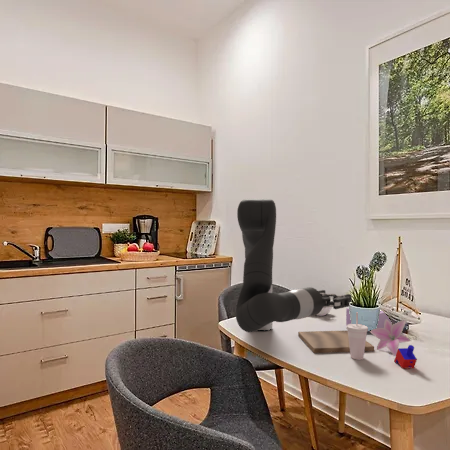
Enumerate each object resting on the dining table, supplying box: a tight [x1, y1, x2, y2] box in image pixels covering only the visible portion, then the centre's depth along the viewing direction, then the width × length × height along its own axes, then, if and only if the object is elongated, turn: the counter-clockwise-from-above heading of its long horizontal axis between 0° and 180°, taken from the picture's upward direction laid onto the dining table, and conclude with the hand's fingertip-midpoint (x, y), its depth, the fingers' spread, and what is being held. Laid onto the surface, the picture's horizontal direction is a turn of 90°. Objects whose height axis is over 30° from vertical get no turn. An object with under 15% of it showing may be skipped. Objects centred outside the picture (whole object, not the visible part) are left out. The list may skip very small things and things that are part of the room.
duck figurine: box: [316, 307, 333, 317], centre depth 170 cm, size 12×8×11 cm
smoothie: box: [345, 312, 369, 361], centre depth 119 cm, size 6×6×14 cm
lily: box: [369, 319, 411, 357], centre depth 126 cm, size 12×12×10 cm
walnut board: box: [297, 329, 375, 354], centre depth 132 cm, size 20×18×2 cm
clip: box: [345, 307, 392, 329], centre depth 153 cm, size 20×12×7 cm, turn 99°
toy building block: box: [393, 344, 418, 369], centre depth 111 cm, size 4×4×8 cm
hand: (336, 295), depth 111 cm, fingers open, 8 cm apart
